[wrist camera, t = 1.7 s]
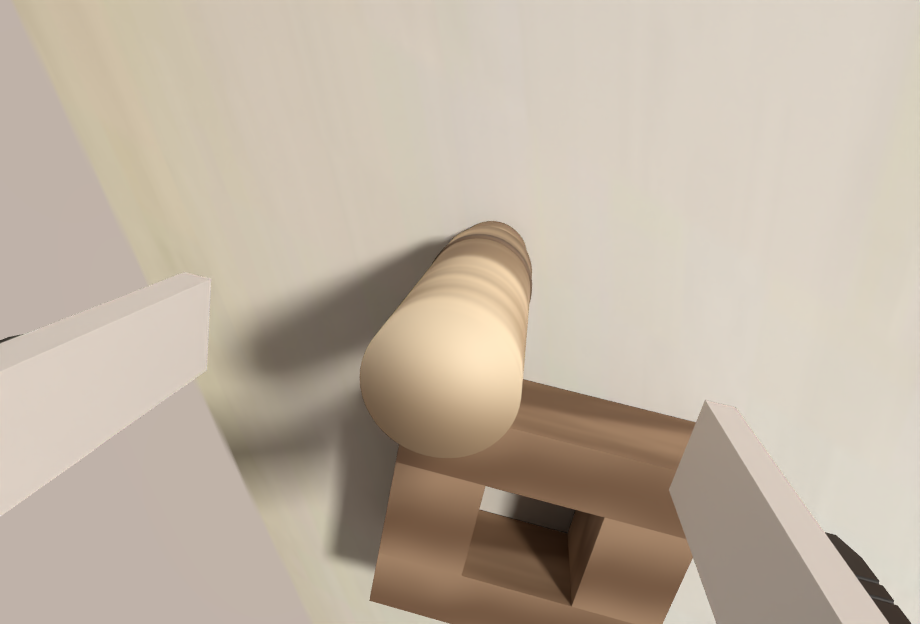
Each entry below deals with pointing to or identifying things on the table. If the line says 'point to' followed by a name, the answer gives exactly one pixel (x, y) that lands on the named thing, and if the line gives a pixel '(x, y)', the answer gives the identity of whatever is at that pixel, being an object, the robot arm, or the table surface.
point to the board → (535, 547)
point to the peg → (454, 348)
